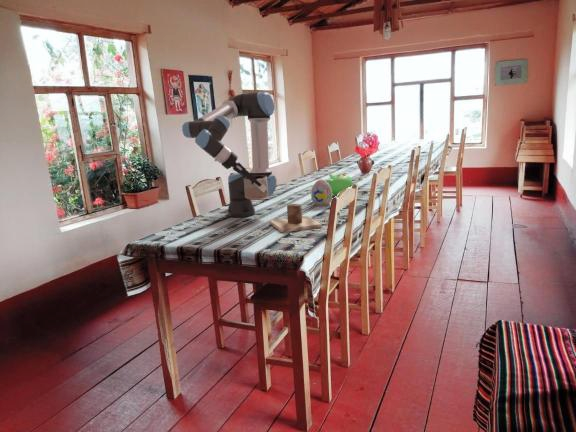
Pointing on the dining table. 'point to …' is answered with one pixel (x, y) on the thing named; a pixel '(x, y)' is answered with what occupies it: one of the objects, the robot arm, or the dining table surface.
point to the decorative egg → (321, 193)
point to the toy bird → (339, 182)
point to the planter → (255, 188)
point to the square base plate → (295, 220)
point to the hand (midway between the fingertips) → (262, 187)
